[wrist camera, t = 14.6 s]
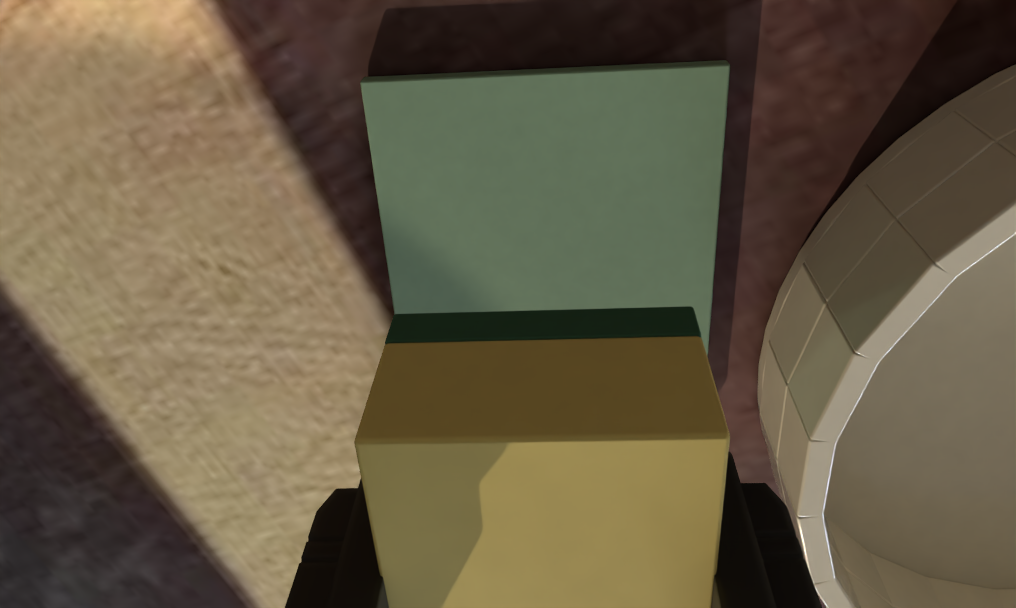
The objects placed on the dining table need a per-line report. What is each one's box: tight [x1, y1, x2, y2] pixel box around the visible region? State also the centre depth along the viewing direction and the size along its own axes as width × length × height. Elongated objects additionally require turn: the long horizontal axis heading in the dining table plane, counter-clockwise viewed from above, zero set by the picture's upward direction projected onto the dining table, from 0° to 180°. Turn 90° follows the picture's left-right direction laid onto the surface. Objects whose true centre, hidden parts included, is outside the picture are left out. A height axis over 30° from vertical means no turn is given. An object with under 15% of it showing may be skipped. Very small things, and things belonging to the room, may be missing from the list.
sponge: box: [354, 306, 730, 608], centre depth 13 cm, size 7×4×3 cm, turn 3°
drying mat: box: [361, 60, 730, 358], centre depth 21 cm, size 10×8×1 cm
